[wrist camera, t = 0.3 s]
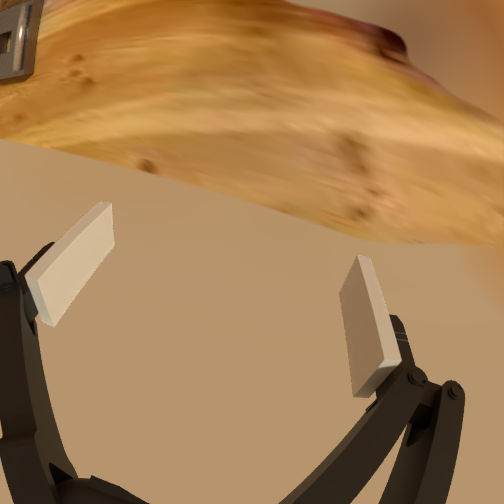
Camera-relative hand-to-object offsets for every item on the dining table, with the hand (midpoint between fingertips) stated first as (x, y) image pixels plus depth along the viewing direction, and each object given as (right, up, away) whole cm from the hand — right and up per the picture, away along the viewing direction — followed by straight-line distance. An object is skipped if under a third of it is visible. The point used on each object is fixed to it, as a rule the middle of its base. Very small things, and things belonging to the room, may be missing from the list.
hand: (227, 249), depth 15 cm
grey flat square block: (-41, +37, +14) cm, 57 cm away
